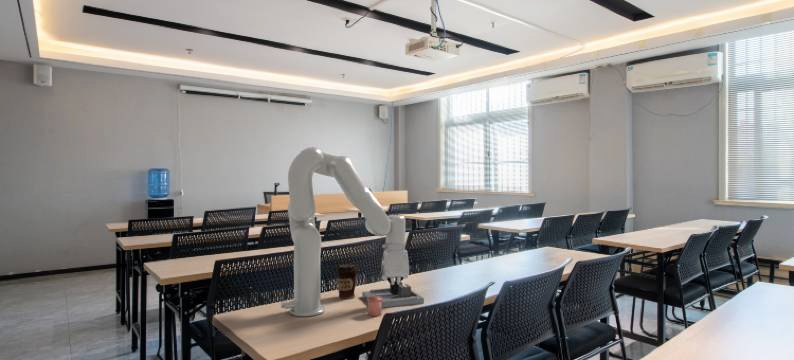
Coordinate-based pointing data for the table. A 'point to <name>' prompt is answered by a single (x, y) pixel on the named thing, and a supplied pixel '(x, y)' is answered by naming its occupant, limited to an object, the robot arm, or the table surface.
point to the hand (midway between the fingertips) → (394, 293)
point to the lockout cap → (374, 306)
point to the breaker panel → (393, 297)
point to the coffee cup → (346, 280)
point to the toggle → (404, 290)
